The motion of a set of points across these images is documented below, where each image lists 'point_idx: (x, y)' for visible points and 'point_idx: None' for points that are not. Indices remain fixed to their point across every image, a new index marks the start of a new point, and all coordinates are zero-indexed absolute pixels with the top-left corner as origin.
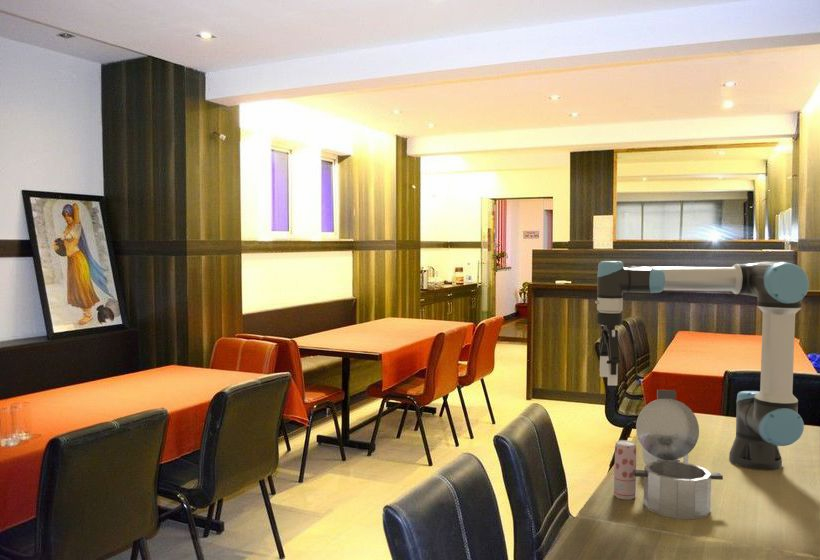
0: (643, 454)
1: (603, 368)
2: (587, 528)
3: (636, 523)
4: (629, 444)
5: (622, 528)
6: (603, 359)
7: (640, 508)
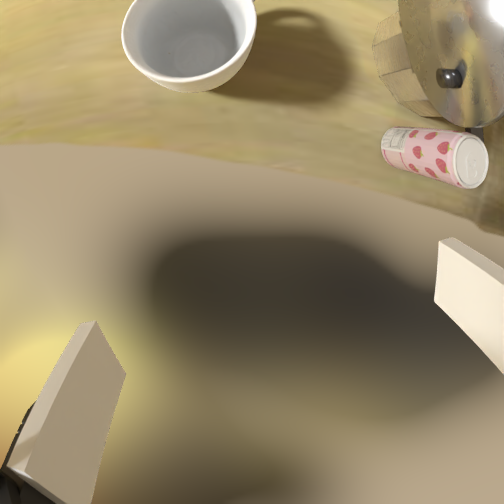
0: (210, 89)
1: (96, 406)
2: (500, 213)
3: (485, 145)
4: (476, 152)
5: (498, 167)
6: (74, 476)
7: (441, 126)
